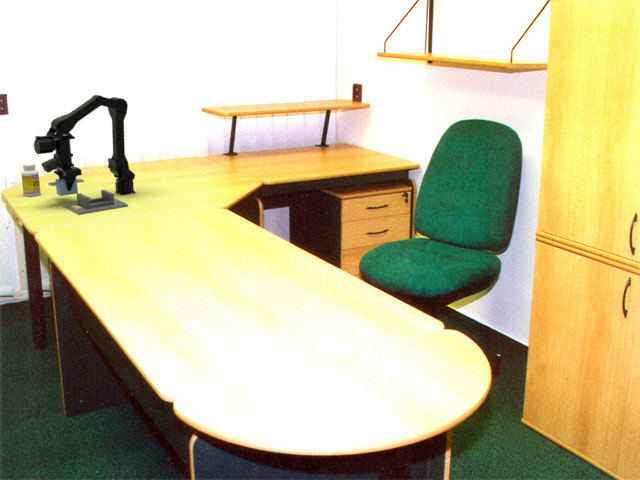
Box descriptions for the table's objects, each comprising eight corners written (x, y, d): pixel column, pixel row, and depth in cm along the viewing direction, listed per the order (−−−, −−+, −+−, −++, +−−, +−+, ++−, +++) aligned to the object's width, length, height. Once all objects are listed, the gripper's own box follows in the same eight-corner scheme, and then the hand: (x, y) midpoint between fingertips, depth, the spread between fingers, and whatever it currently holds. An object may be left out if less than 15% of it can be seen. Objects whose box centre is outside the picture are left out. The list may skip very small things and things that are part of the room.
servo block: (81, 190, 290) (79, 176, 288) (85, 192, 287) (83, 177, 286) (49, 195, 282) (47, 180, 280) (53, 197, 279) (51, 182, 278)
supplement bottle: (34, 197, 293) (31, 166, 289) (20, 196, 294) (16, 165, 290) (44, 193, 299) (40, 163, 296) (29, 192, 301) (26, 162, 297)
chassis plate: (112, 199, 292) (111, 186, 290) (128, 206, 281) (127, 193, 280) (64, 207, 279) (63, 194, 278) (78, 214, 269) (77, 201, 267)
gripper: (34, 149, 281) (38, 188, 286) (51, 157, 268) (55, 197, 273) (61, 146, 288) (65, 184, 293) (80, 153, 275) (84, 193, 280)
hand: (67, 189), depth 284 cm, fingers closed on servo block, 4 cm apart
